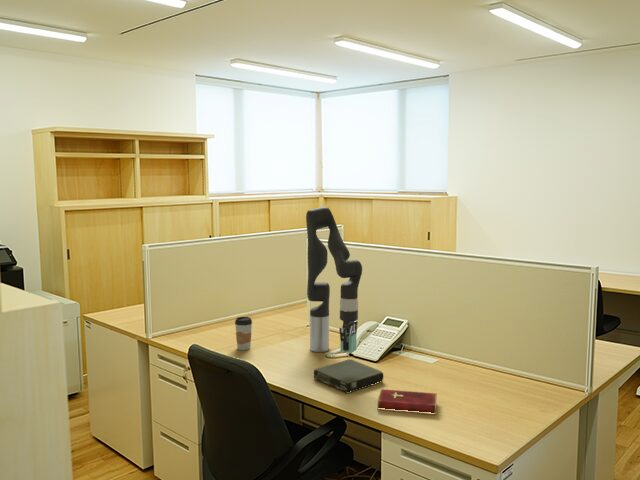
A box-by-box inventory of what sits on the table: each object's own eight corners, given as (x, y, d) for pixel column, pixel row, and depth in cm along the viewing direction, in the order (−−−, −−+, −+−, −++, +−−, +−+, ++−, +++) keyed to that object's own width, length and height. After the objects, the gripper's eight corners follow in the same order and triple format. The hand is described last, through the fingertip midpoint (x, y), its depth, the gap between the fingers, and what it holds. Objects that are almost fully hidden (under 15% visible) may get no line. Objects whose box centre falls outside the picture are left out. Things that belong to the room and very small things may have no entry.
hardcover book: (435, 416, 207) (436, 405, 206) (377, 411, 211) (377, 400, 211) (436, 403, 218) (436, 392, 218) (380, 398, 223) (381, 388, 222)
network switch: (308, 381, 240) (308, 370, 239) (345, 367, 257) (345, 356, 256) (351, 397, 224) (351, 384, 224) (387, 381, 241) (388, 369, 241)
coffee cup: (232, 349, 281) (231, 319, 279) (240, 345, 288) (240, 315, 287) (247, 351, 278) (246, 321, 276) (255, 347, 285) (255, 317, 283)
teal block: (345, 348, 242) (345, 331, 241) (356, 349, 240) (356, 333, 239) (340, 351, 238) (340, 334, 237) (351, 353, 236) (351, 336, 235)
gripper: (347, 303, 245) (347, 342, 247) (333, 311, 232) (333, 352, 234) (363, 305, 242) (363, 345, 244) (350, 313, 229) (350, 354, 231)
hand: (348, 348), depth 239 cm, fingers closed on teal block, 5 cm apart
